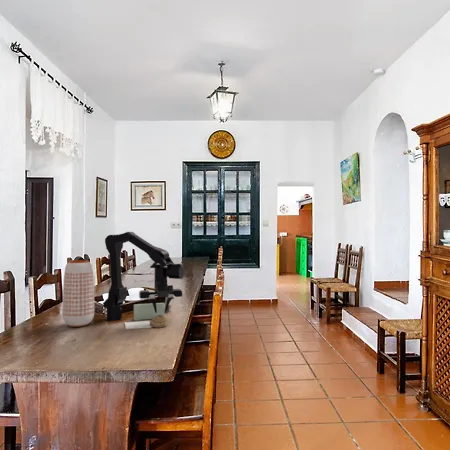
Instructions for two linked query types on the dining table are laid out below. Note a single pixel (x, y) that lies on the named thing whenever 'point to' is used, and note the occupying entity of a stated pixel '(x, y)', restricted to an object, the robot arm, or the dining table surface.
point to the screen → (147, 311)
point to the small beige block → (167, 308)
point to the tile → (137, 325)
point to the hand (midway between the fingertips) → (160, 312)
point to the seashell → (159, 321)
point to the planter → (78, 293)
